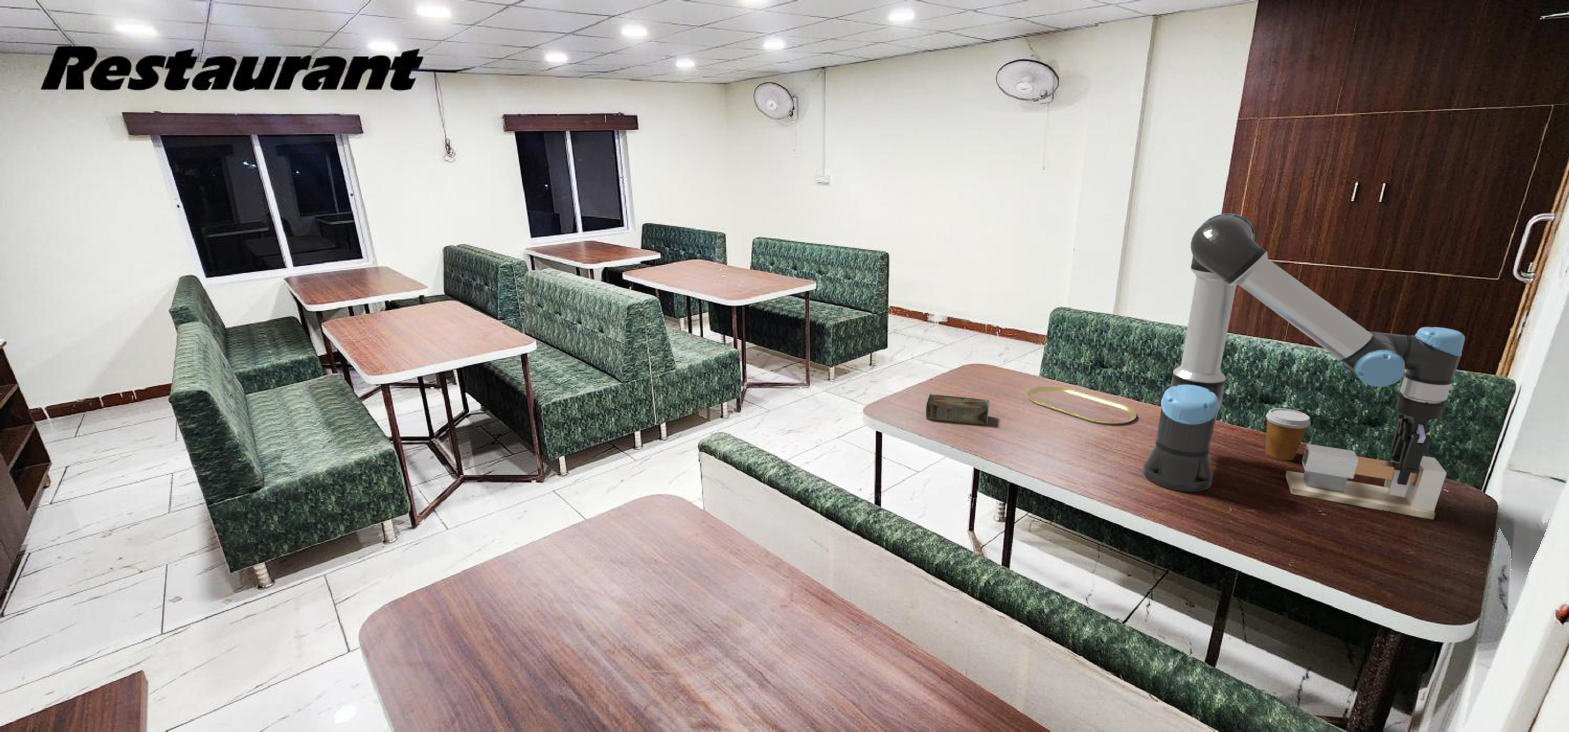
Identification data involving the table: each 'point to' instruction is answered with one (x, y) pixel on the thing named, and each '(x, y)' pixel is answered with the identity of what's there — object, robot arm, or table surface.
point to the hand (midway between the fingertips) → (1394, 491)
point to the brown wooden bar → (1379, 469)
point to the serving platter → (1087, 396)
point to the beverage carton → (957, 409)
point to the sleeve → (1328, 467)
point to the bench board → (1357, 496)
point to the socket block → (1426, 485)
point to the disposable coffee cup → (1285, 432)
